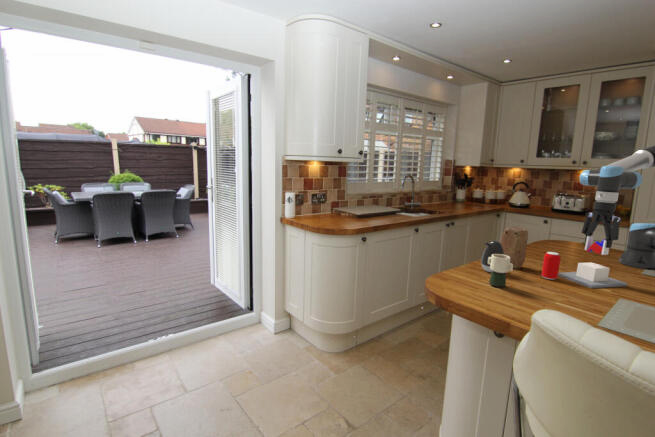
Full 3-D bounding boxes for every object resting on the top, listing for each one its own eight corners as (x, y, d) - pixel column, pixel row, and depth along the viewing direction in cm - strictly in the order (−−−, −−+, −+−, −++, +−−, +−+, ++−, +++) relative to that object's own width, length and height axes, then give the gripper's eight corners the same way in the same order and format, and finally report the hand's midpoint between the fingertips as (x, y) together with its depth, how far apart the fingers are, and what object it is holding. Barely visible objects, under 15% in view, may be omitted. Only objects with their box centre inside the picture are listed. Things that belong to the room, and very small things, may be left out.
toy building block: (595, 256, 146) (608, 243, 142) (586, 250, 149) (598, 237, 145) (599, 256, 148) (612, 242, 144) (590, 249, 151) (602, 236, 147)
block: (525, 268, 163) (531, 229, 160) (514, 270, 160) (520, 230, 157) (505, 262, 173) (510, 225, 170) (495, 263, 170) (500, 226, 167)
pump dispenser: (475, 267, 162) (479, 237, 159) (495, 267, 163) (499, 238, 160) (487, 274, 152) (491, 243, 149) (508, 275, 153) (512, 243, 150)
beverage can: (555, 277, 152) (559, 252, 150) (558, 281, 147) (562, 255, 145) (540, 275, 155) (543, 250, 153) (542, 279, 149) (546, 253, 147)
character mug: (514, 288, 136) (518, 258, 134) (504, 291, 132) (508, 260, 130) (490, 280, 145) (494, 251, 143) (480, 282, 142) (483, 253, 139)
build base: (590, 273, 160) (593, 259, 159) (626, 285, 144) (630, 270, 143) (557, 275, 155) (559, 260, 154) (590, 288, 140) (593, 272, 139)
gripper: (577, 198, 152) (568, 246, 156) (623, 204, 133) (612, 258, 137) (590, 199, 154) (581, 246, 158) (637, 204, 135) (626, 258, 139)
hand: (596, 252), depth 148 cm, fingers closed on toy building block, 7 cm apart
